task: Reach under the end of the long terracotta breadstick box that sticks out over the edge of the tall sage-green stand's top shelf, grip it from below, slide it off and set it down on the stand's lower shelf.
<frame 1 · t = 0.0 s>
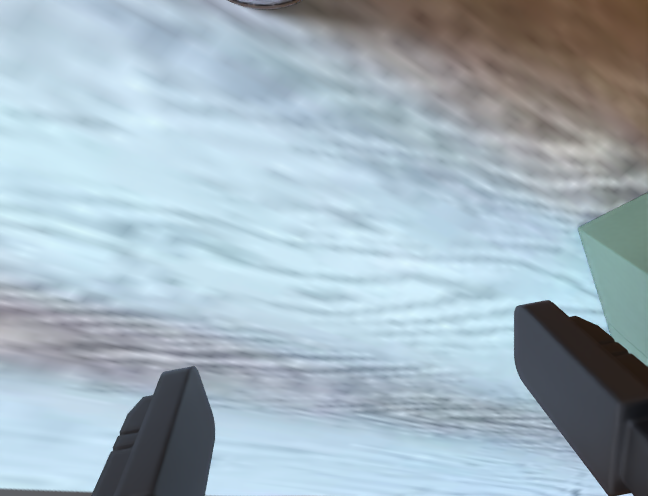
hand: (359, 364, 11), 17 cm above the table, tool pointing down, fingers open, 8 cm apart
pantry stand: (592, 277, 32), on the table
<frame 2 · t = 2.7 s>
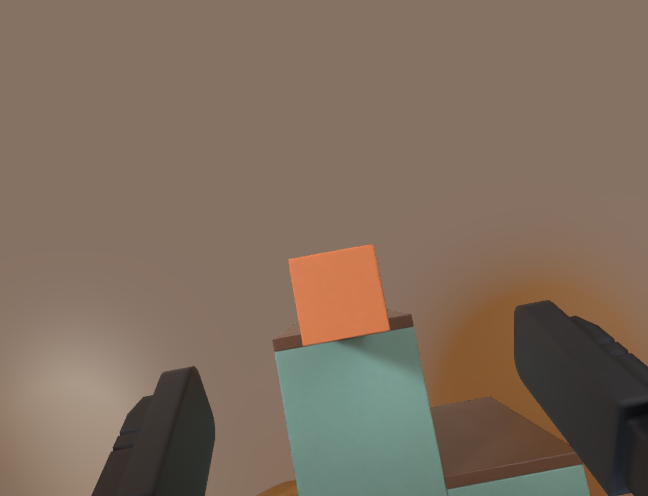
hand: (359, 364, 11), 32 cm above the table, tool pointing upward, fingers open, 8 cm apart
breadstick box: (340, 324, 31), point 32 cm above the table, touching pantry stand
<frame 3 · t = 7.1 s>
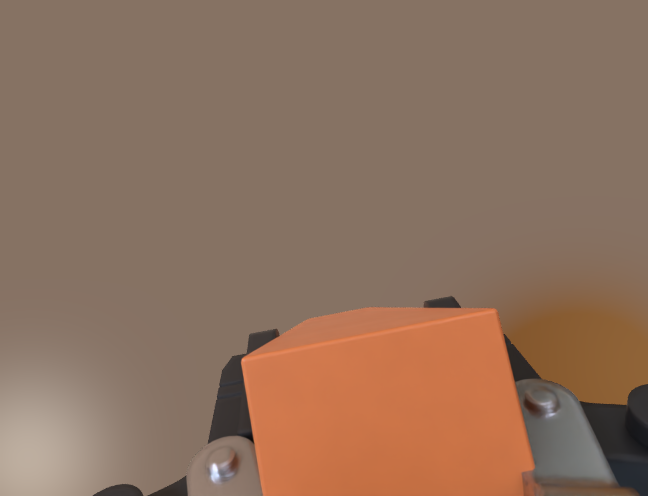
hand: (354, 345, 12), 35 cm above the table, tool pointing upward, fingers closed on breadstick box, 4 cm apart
breadstick box: (364, 420, 17), point 32 cm above the table, touching gripper, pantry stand
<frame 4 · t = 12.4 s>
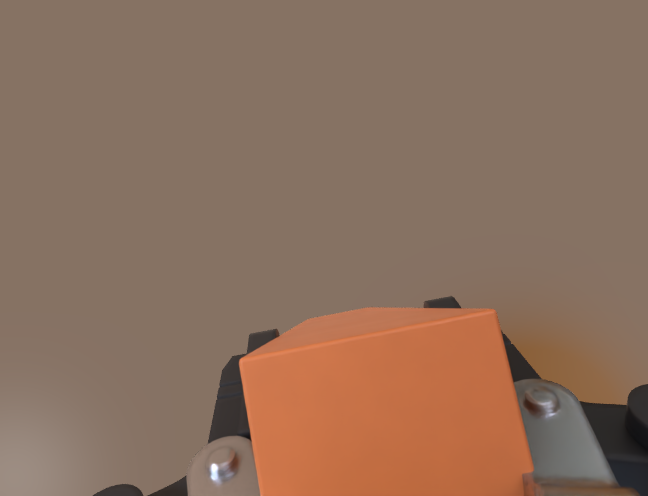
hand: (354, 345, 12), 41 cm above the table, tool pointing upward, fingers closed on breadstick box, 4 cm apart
breadstick box: (364, 421, 17), point 38 cm above the table, touching gripper
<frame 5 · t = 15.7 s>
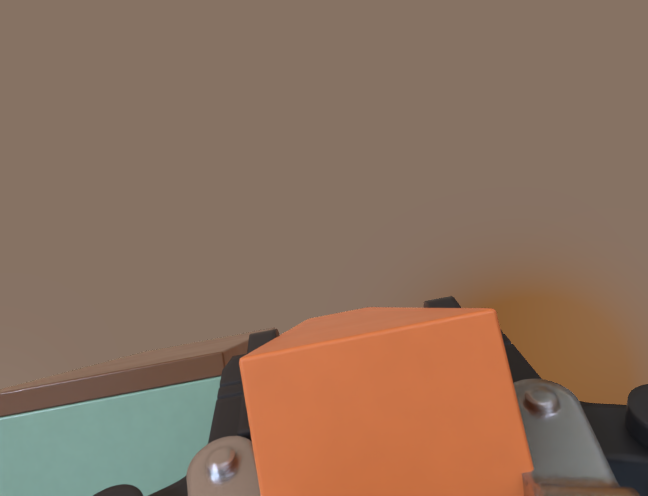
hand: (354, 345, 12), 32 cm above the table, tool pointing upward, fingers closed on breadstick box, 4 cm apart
breadstick box: (364, 420, 17), point 28 cm above the table, touching gripper
when the fingers open (25 cm above the table, at t = 17.9 s): breadstick box stays where it is, resting on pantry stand.
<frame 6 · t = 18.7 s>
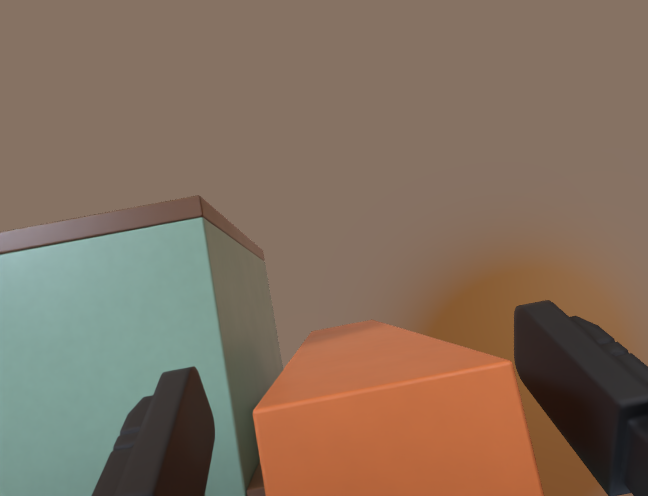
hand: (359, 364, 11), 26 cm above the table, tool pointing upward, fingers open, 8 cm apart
breadstick box: (370, 441, 17), point 22 cm above the table, touching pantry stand
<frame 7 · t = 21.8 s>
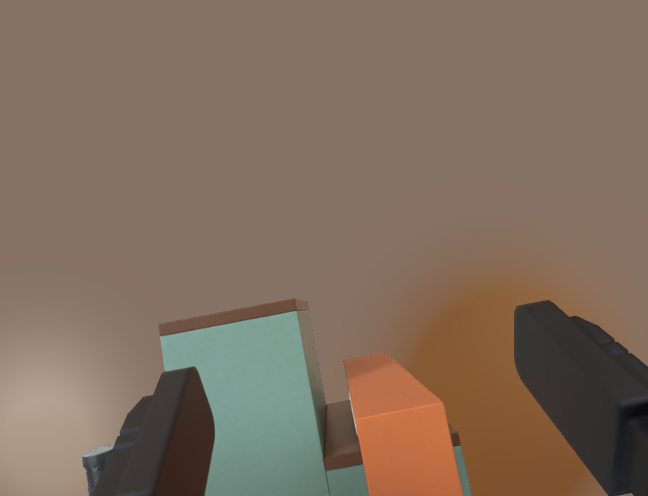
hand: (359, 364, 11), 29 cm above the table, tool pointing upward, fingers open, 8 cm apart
breadstick box: (387, 433, 30), point 22 cm above the table, touching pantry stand
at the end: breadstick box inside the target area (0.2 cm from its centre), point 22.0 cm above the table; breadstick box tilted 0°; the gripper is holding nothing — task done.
